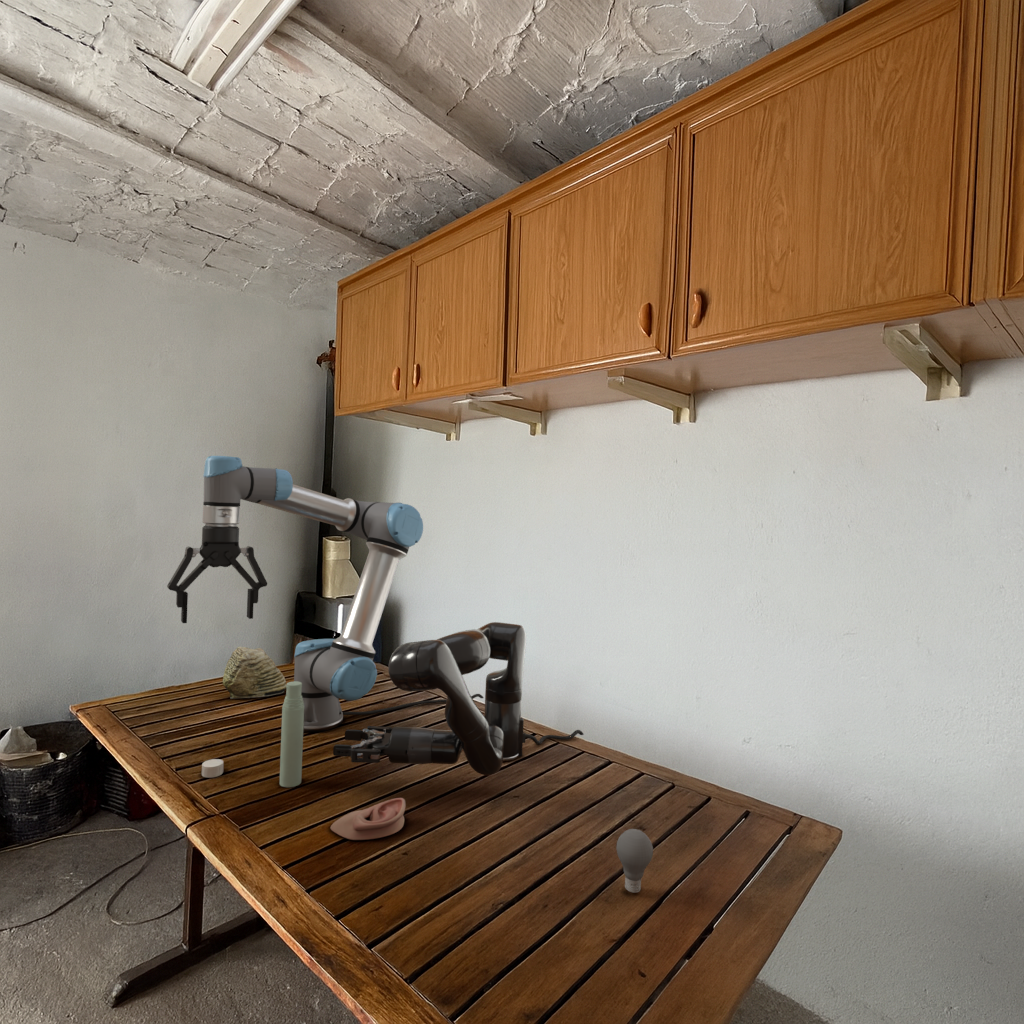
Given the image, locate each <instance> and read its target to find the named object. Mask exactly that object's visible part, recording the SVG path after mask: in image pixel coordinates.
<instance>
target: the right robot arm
mask: <svg viewBox="0 0 1024 1024" xmlns="http://www.w3.org/2000/svg"><path fill="white" fill-rule="evenodd" d="M526 649H527V632H526V629H525V627H524V626H523V625H521V624H516V623H510V622H509V623H508V622H499V621H497V622H496V621H495V622H494V621H493V622H488V623H486V624H484V625H482V626H480V627H479V628H474V629H473V628H472V629H466V630H461V631H457V632H453V633H451V634H448V635H445V636H441V637H439V638H437V639H426V640H420V641H419V640H418V641H410V642H405V643H403V644H401V645H399V646H398V647H396V649H394V651H393V652H392V653H391V656H390V658H389V662H388V675H389V678H390V681H391V683H392V684H393V685H394V686H395V687H396V688H398V689H399V690H402V691H405V692H411V693H412V692H423V691H433V690H437V689H439V690H441V692H443V693H444V694H445V695H446V699H447V701H446V702H445V707H444V718H445V722H446V724H447V726H448V728H449V729H450V730H449V729H432V728H427V727H414V726H413V727H412V726H411V727H410V726H394V727H392V726H379V725H378V726H377V725H368V726H366V728H363V729H346V730H345V731H344V740H345V741H355V742H357V741H358V742H360V743H357V744H353V745H352V744H340V743H339V744H334V745H333V746H332V747H333V748H332V754H333V756H335V757H349V758H350V759H351V761H350V762H351V763H361V764H362V763H364V764H365V763H366V764H377V763H381V757H383V756H384V757H385V756H387V758H388V761H389V762H390V764H404V765H405V764H406V765H429V764H430V765H431V764H436V765H455V764H457V763H458V762H459V760H460V757H461V755H462V752H463V753H464V756H465V758H466V760H467V763H468V765H469V766H470V767H471V769H472V770H473V771H474V772H476V773H477V774H479V775H482V776H493V775H495V774H497V773H498V772H499V771H500V770H501V768H502V766H503V762H509V761H510V762H511V761H514V760H516V759H518V758H520V757H522V756H523V747H524V746H523V744H525V743H526V739H528V740H532V742H534V744H535V745H538V746H539V745H542V744H543V742H544V741H546V740H549V739H550V740H557V741H558V740H559V741H569V740H572V739H573V738H575V737H576V736H577V735H579V736H584V732H583V731H582V730H581V729H575V730H574V731H573V732H572V733H570V734H569V735H565V736H563V735H555V734H546V735H543V736H541V737H540V738H539V740H538V739H537V737H535V735H532V734H529V733H526V732H525V731H524V724H525V723H524V721H525V720H524V718H523V717H522V698H523V697H522V695H523V680H524V672H525V659H526V652H527V651H526ZM490 659H491V660H499V661H505V662H507V664H506V667H505V668H503V669H499V670H494V671H491V672H489V673H488V674H487V675H486V676H485V690H484V714H483V713H482V711H481V710H480V709H479V707H478V706H477V704H476V703H475V701H474V698H473V699H472V698H471V696H472V695H471V693H470V691H469V689H468V686H467V684H466V681H465V679H464V676H463V675H468V674H471V673H474V672H477V671H478V670H481V669H482V668H483V667H485V666H486V664H488V662H489V660H490ZM570 736H571V737H570Z"/></svg>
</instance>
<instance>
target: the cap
mask: <svg viewBox="0 0 1024 1024" xmlns="http://www.w3.org/2000/svg"><path fill="white" fill-rule="evenodd" d="M224 767H225V763H224V760H223V759H219V758H212V759H208V760H205V761H203V762H202V764H201V776H202V777H203V778H209V779H211V778H216V777H219V776H222V774H223V773H224Z"/></svg>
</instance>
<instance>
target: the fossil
mask: <svg viewBox="0 0 1024 1024" xmlns="http://www.w3.org/2000/svg"><path fill="white" fill-rule="evenodd" d="M222 676H223V677H222V685H223V687H224V688H225V690H226V691H228V693H229V698H230V699H250V698H264V697H271V696H275V695H281V694H284V693H285V691H286V688H287V687H286V685H287V680H286V678H285V676H284V674H283V673H282V672H281V669H279V668H278V667H277V665H276V663H275V662H274V660H273V659H272V658H271V657H270V656H269V655H268V654H267V653H266V652H265V650H264V649H263V648H260V647H258V648H251V647H247V646H246V647H245V646H238V647H237V648H236V649H235V650H233V651H232V653H231V656H230V657H229V659H228V660H227V663H226V666H225V668H224V671H223V675H222Z"/></svg>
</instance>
